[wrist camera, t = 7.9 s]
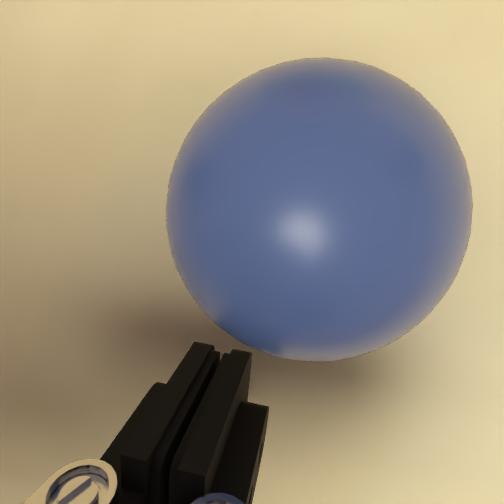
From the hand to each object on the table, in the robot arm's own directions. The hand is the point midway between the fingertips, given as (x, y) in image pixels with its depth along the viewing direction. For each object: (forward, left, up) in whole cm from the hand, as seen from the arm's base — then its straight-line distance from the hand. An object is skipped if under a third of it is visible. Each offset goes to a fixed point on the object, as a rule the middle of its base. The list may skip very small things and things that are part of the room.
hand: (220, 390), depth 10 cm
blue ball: (+5, +3, +1) cm, 6 cm away
